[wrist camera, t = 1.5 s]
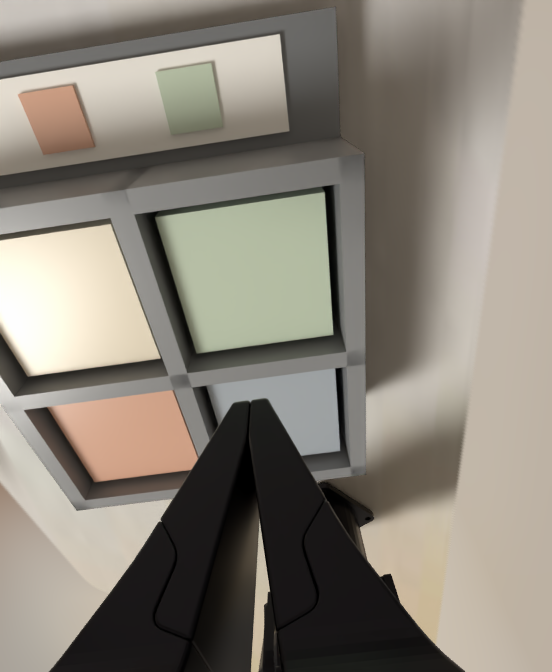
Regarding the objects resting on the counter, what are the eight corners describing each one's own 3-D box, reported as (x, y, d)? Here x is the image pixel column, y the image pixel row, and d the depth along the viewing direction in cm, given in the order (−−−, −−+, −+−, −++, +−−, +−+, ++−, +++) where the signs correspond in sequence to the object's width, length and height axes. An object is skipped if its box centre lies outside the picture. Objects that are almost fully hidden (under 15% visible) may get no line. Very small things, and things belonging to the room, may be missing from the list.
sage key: (327, 317, 18) (333, 334, 17) (200, 334, 18) (196, 353, 17) (318, 182, 15) (324, 192, 14) (163, 205, 15) (154, 217, 14)
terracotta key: (204, 446, 23) (201, 468, 21) (103, 459, 23) (94, 482, 21) (176, 365, 19) (170, 385, 18) (57, 382, 19) (44, 402, 18)
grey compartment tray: (345, 403, 26) (366, 474, 21) (107, 434, 26) (76, 510, 22) (328, 12, 14) (363, -17, 10) (-85, 80, 15) (-233, 82, 10)
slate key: (335, 429, 22) (340, 450, 21) (231, 443, 22) (230, 464, 21) (329, 345, 19) (334, 363, 18) (208, 361, 19) (204, 381, 18)
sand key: (167, 339, 18) (160, 358, 17) (43, 356, 19) (27, 376, 17) (122, 212, 15) (110, 223, 14) (-29, 234, 15) (-54, 248, 14)
